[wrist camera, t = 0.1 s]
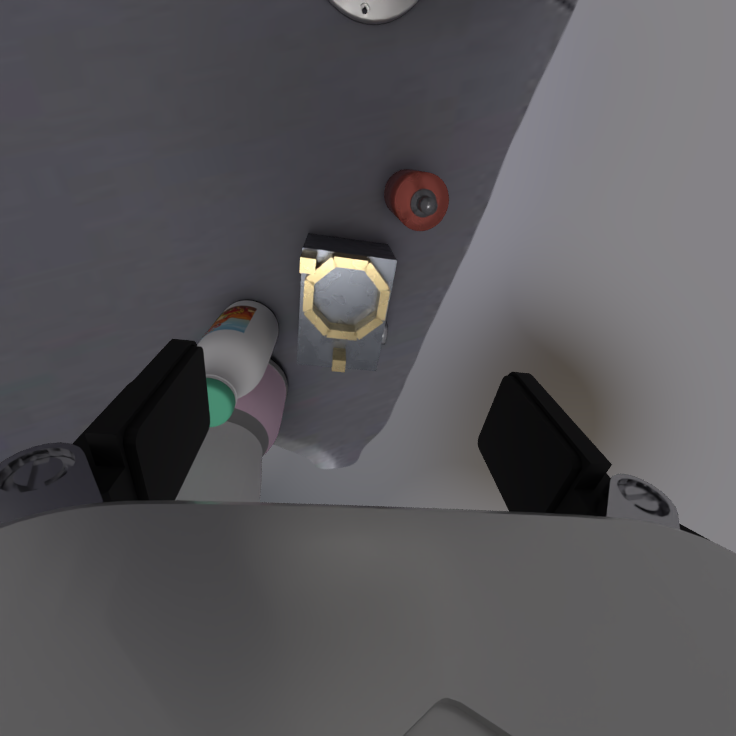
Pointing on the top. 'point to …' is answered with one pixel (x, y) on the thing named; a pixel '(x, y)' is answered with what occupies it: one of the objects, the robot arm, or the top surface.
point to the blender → (239, 445)
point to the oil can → (417, 198)
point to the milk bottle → (237, 355)
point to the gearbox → (343, 302)
